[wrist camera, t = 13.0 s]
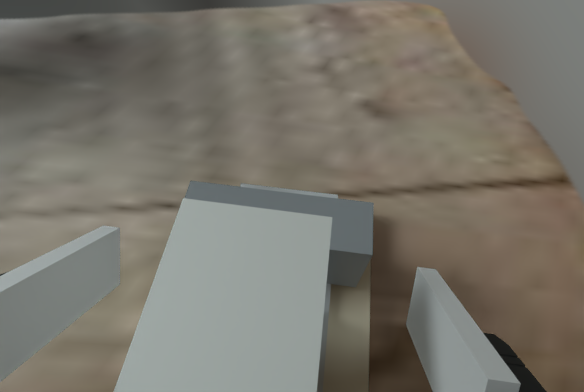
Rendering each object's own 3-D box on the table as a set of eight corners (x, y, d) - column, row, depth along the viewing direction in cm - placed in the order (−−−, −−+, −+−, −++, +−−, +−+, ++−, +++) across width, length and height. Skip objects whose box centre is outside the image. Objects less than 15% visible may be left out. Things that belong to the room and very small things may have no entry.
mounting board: (212, 194, 27) (206, 179, 26) (367, 213, 27) (373, 199, 25) (86, 608, 16) (60, 632, 14) (356, 663, 15) (366, 695, 13)
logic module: (228, 295, 21) (183, 198, 12) (312, 307, 21) (332, 217, 12) (201, 412, 18) (109, 403, 9) (299, 428, 18) (312, 437, 8)
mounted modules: (207, 223, 24) (190, 180, 20) (357, 242, 23) (373, 202, 19) (119, 519, 16) (58, 556, 12) (344, 561, 15) (367, 614, 11)
